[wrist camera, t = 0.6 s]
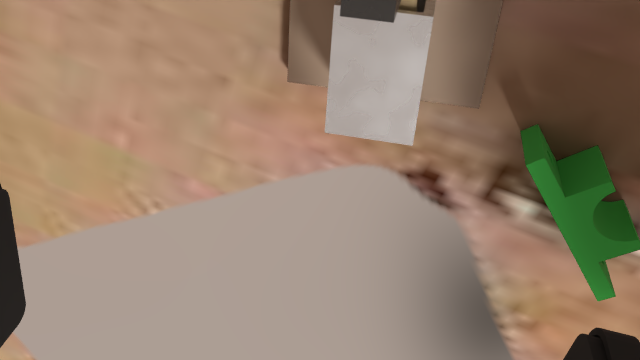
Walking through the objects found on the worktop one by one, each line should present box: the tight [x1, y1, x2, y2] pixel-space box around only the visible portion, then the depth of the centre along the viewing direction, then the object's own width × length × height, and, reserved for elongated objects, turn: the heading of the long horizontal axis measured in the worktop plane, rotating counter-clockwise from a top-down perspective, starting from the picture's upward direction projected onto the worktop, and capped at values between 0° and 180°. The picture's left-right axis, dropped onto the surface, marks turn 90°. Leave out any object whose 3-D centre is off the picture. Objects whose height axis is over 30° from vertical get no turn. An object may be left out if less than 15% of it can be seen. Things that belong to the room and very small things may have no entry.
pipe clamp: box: [521, 124, 640, 301], centre depth 38 cm, size 11×4×5 cm, turn 33°
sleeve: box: [325, 0, 436, 146], centre depth 34 cm, size 5×7×6 cm
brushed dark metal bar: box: [340, 0, 419, 23], centre depth 28 cm, size 3×13×11 cm, turn 176°
